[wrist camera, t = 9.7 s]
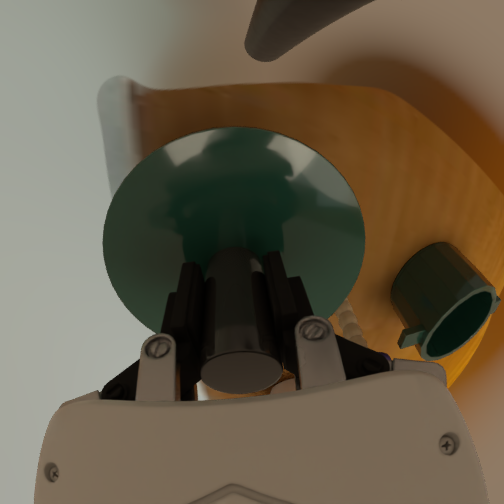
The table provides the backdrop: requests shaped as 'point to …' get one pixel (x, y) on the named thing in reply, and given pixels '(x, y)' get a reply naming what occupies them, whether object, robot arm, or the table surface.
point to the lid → (233, 240)
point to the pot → (441, 301)
